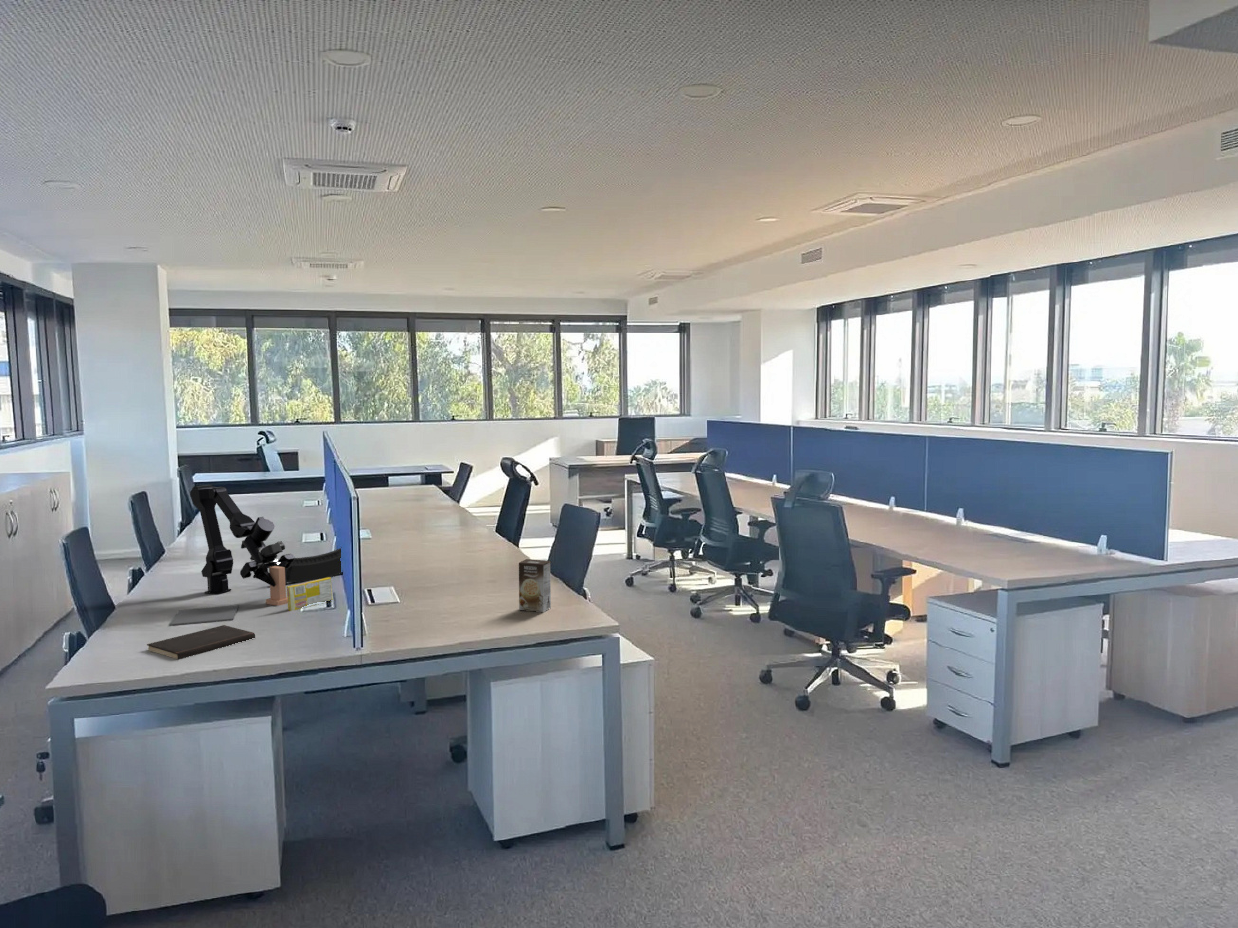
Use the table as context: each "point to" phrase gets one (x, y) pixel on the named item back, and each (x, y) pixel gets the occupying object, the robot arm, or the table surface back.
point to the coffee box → (534, 585)
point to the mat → (204, 615)
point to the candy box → (309, 593)
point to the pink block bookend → (277, 586)
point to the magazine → (314, 567)
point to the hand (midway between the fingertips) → (280, 584)
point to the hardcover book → (200, 641)
